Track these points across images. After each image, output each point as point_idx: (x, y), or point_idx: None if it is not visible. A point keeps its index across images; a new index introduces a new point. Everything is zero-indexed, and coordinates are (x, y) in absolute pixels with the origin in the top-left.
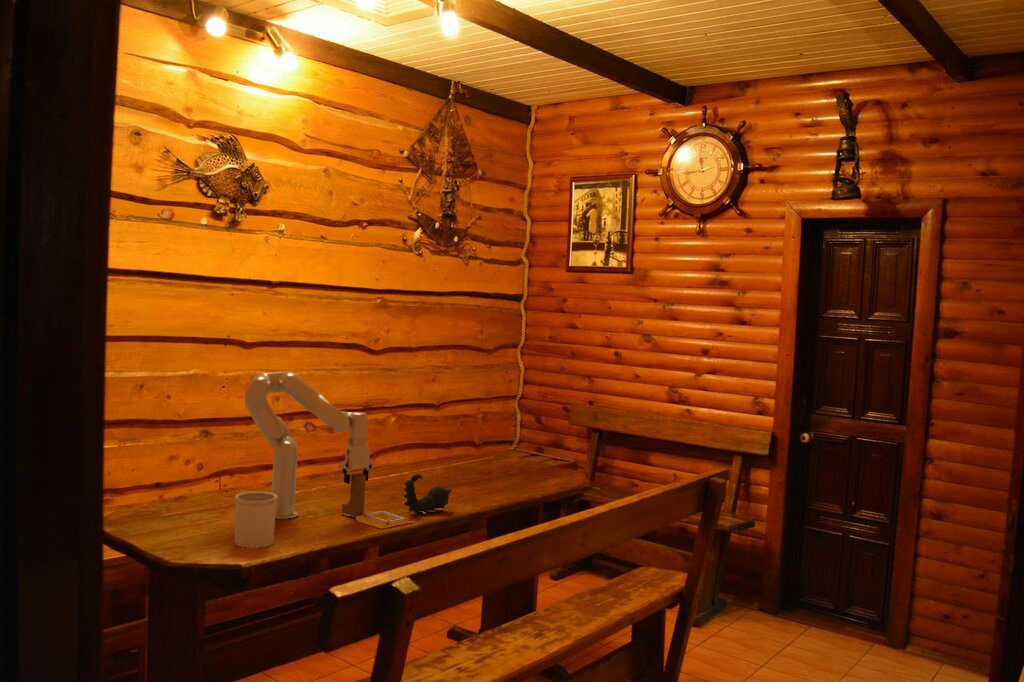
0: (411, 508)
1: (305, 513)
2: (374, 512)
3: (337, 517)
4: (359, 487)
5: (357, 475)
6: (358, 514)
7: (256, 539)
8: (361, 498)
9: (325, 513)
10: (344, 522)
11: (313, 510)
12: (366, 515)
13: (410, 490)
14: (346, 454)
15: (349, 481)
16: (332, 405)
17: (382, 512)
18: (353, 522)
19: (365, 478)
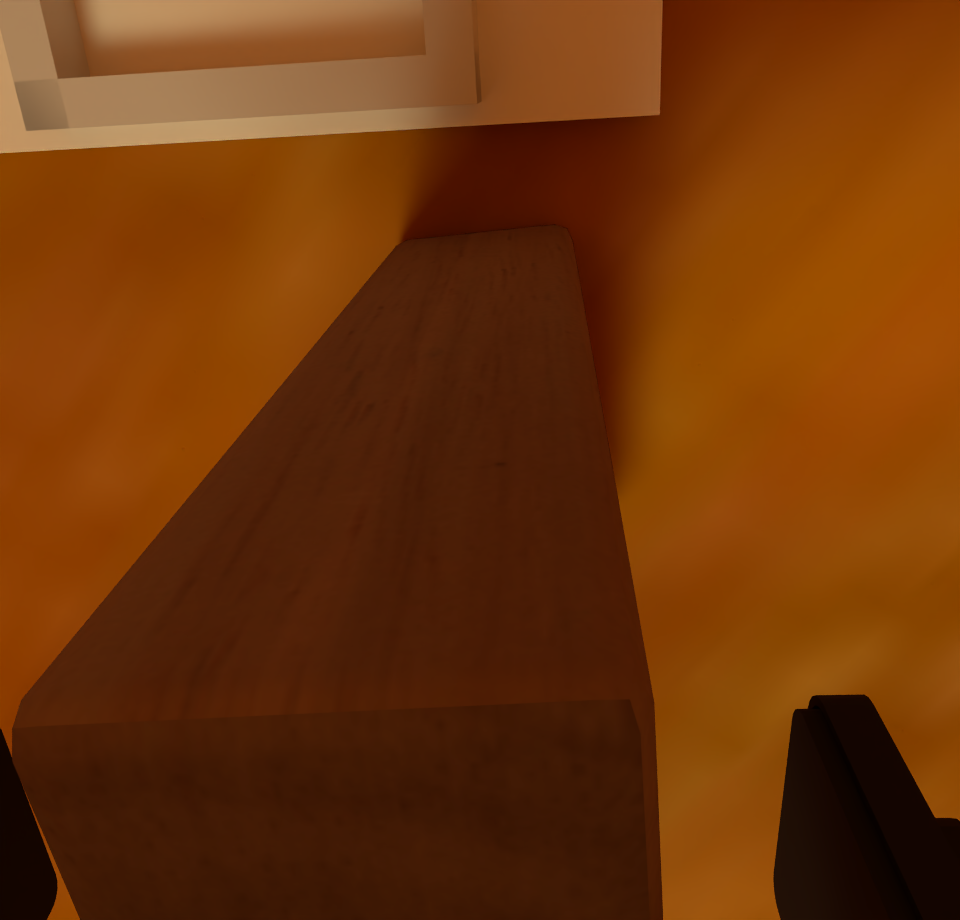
0: None
1: (941, 789)
2: (238, 91)
3: (743, 443)
4: (510, 417)
5: (539, 871)
6: (509, 239)
7: None
8: (428, 317)
9: (732, 679)
10: (873, 130)
11: (756, 840)
12: (473, 22)
13: None
14: None
15: (861, 753)
16: None
17: (65, 73)
18: (746, 43)
19: (113, 607)
